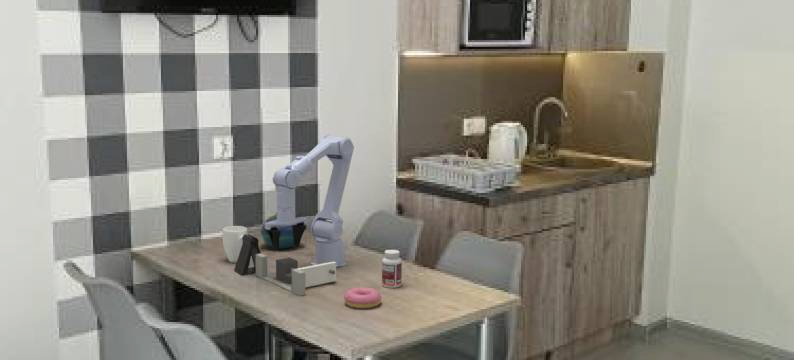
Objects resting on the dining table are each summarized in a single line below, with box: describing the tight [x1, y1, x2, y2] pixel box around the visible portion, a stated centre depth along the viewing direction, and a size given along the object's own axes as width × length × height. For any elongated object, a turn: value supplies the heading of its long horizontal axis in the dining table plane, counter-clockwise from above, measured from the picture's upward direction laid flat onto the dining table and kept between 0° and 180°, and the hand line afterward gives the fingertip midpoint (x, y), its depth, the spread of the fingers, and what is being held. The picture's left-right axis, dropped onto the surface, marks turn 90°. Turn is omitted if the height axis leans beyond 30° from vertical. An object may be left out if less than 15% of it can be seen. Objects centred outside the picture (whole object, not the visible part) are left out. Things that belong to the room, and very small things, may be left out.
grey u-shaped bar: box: [255, 253, 306, 297], centre depth 251 cm, size 2×26×7 cm, turn 40°
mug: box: [222, 225, 248, 264], centre depth 275 cm, size 12×8×11 cm
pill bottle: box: [381, 249, 403, 289], centre depth 253 cm, size 6×6×11 cm
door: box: [294, 262, 337, 288], centre depth 250 cm, size 3×15×6 cm, turn 130°
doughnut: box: [343, 286, 382, 309], centre depth 235 cm, size 11×11×4 cm
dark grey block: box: [275, 257, 299, 285], centre depth 257 cm, size 5×8×6 cm, turn 40°
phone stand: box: [233, 233, 262, 276], centre depth 264 cm, size 9×6×12 cm, turn 125°
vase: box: [260, 211, 295, 250], centre depth 296 cm, size 15×15×13 cm
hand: (286, 248), depth 257 cm, fingers open, 7 cm apart
